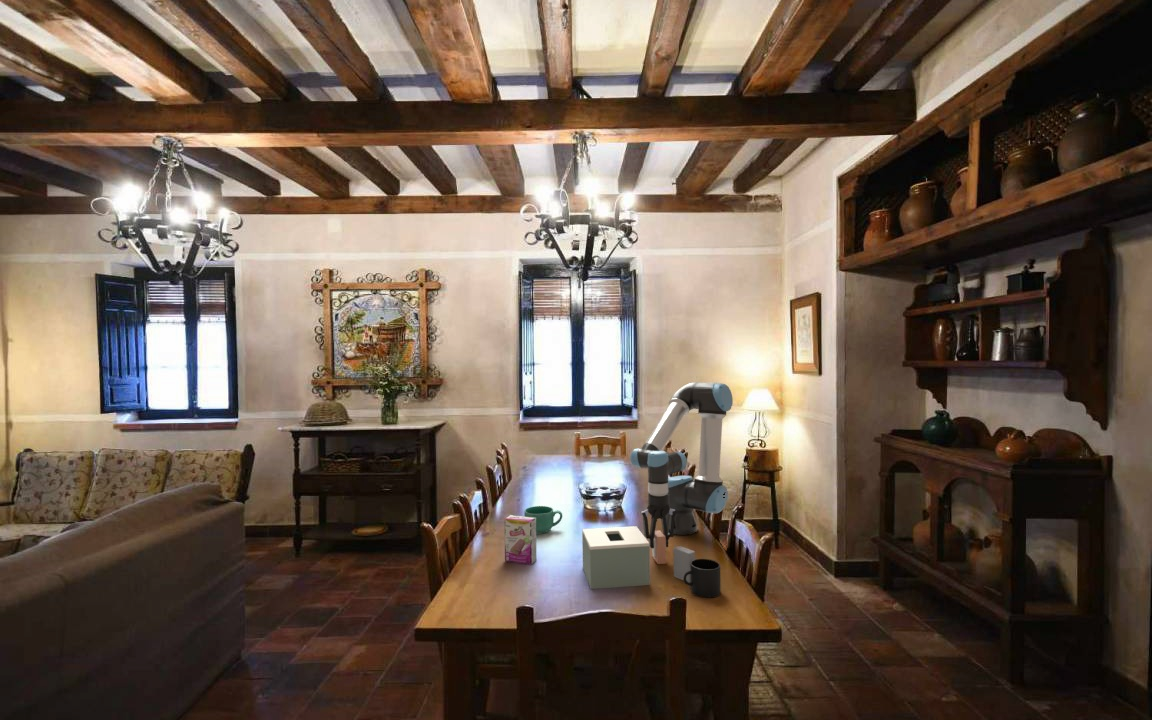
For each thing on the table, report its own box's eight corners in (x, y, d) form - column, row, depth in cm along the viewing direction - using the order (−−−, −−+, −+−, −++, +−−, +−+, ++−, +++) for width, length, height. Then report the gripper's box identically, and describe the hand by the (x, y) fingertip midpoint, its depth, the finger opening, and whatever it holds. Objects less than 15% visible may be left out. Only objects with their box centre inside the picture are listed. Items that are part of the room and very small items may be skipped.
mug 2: (679, 587, 179) (678, 559, 179) (714, 584, 181) (714, 557, 181) (688, 599, 170) (688, 571, 170) (725, 597, 171) (724, 568, 171)
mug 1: (523, 536, 231) (522, 514, 231) (526, 526, 244) (526, 505, 244) (561, 536, 231) (561, 513, 231) (563, 526, 244) (562, 505, 244)
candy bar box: (504, 562, 203) (503, 518, 203) (510, 557, 208) (509, 514, 207) (531, 565, 199) (531, 520, 199) (537, 560, 204) (536, 517, 204)
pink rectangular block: (660, 556, 206) (660, 530, 206) (665, 563, 199) (665, 536, 199) (652, 557, 206) (652, 530, 205) (657, 564, 199) (657, 536, 199)
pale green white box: (636, 564, 199) (636, 526, 199) (649, 584, 181) (649, 543, 181) (582, 567, 196) (582, 529, 196) (590, 589, 179) (590, 546, 178)
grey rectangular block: (679, 574, 190) (679, 545, 190) (695, 580, 184) (695, 551, 184) (673, 576, 188) (673, 547, 188) (689, 583, 182) (689, 553, 182)
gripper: (675, 489, 207) (676, 551, 207) (634, 491, 205) (635, 553, 205) (682, 494, 199) (683, 558, 200) (639, 497, 197) (640, 561, 198)
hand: (659, 555), depth 202 cm, fingers closed on pink rectangular block, 3 cm apart
